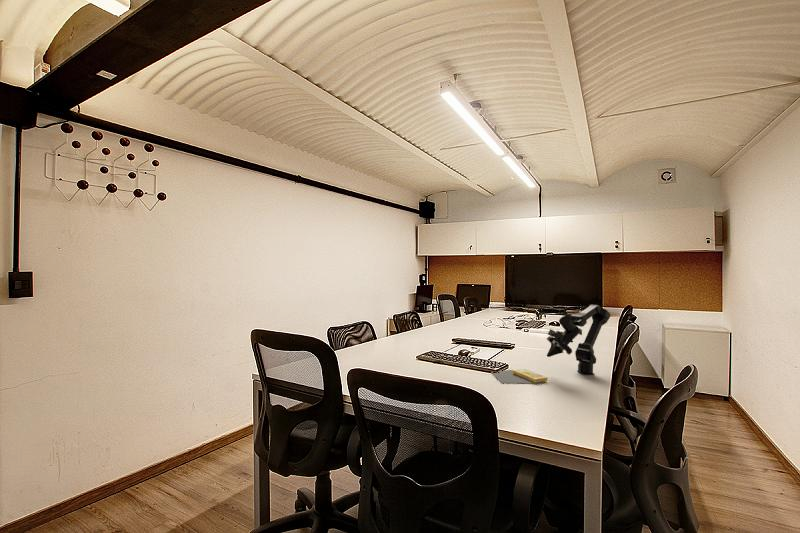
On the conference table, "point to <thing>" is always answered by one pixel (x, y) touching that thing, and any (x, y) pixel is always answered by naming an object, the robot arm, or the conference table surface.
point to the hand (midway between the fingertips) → (547, 356)
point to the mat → (512, 378)
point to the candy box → (530, 375)
